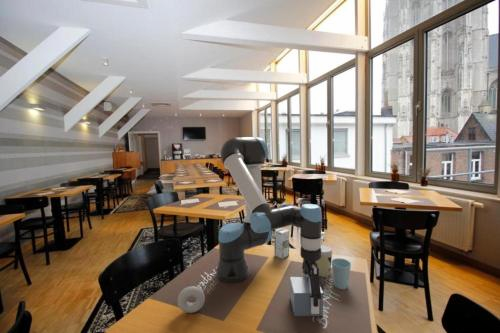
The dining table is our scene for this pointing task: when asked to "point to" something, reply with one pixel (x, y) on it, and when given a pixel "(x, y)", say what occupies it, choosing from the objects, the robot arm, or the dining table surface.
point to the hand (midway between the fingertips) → (310, 300)
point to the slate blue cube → (303, 297)
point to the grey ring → (188, 292)
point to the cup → (341, 272)
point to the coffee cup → (325, 260)
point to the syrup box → (282, 243)
